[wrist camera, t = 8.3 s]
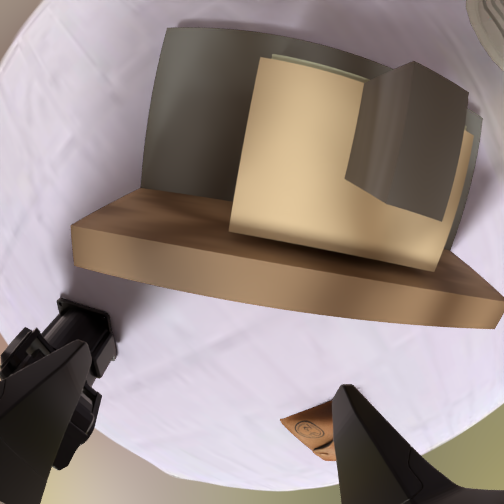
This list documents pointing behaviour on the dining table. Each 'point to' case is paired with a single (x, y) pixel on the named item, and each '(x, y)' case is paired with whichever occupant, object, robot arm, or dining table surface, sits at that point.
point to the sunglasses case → (314, 429)
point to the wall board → (222, 195)
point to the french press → (489, 26)
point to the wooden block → (353, 160)
